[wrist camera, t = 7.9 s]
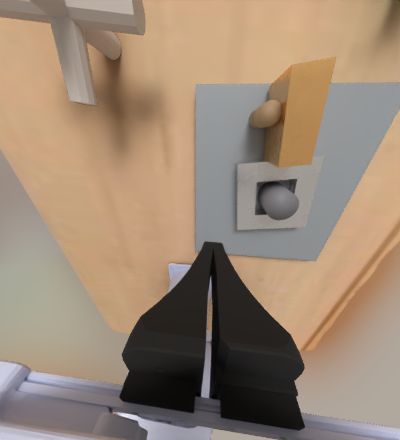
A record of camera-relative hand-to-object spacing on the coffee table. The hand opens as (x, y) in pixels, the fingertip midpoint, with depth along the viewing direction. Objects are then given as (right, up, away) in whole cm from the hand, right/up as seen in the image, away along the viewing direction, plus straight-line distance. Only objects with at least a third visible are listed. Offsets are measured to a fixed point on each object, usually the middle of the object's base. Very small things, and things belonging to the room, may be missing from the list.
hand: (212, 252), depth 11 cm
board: (+8, +6, +8) cm, 12 cm away
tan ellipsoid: (+5, +12, +3) cm, 13 cm away
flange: (+7, +8, +5) cm, 12 cm away
